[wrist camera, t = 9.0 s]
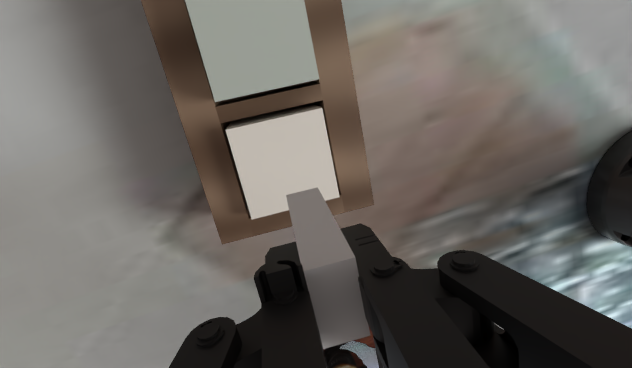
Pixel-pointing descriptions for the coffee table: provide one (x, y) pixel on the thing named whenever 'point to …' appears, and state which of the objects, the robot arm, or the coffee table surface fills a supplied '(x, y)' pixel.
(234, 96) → the slate key
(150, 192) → the coffee table surface
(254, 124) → the cream key
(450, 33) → the coffee table surface
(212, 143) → the frame
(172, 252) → the coffee table surface
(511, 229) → the coffee table surface
